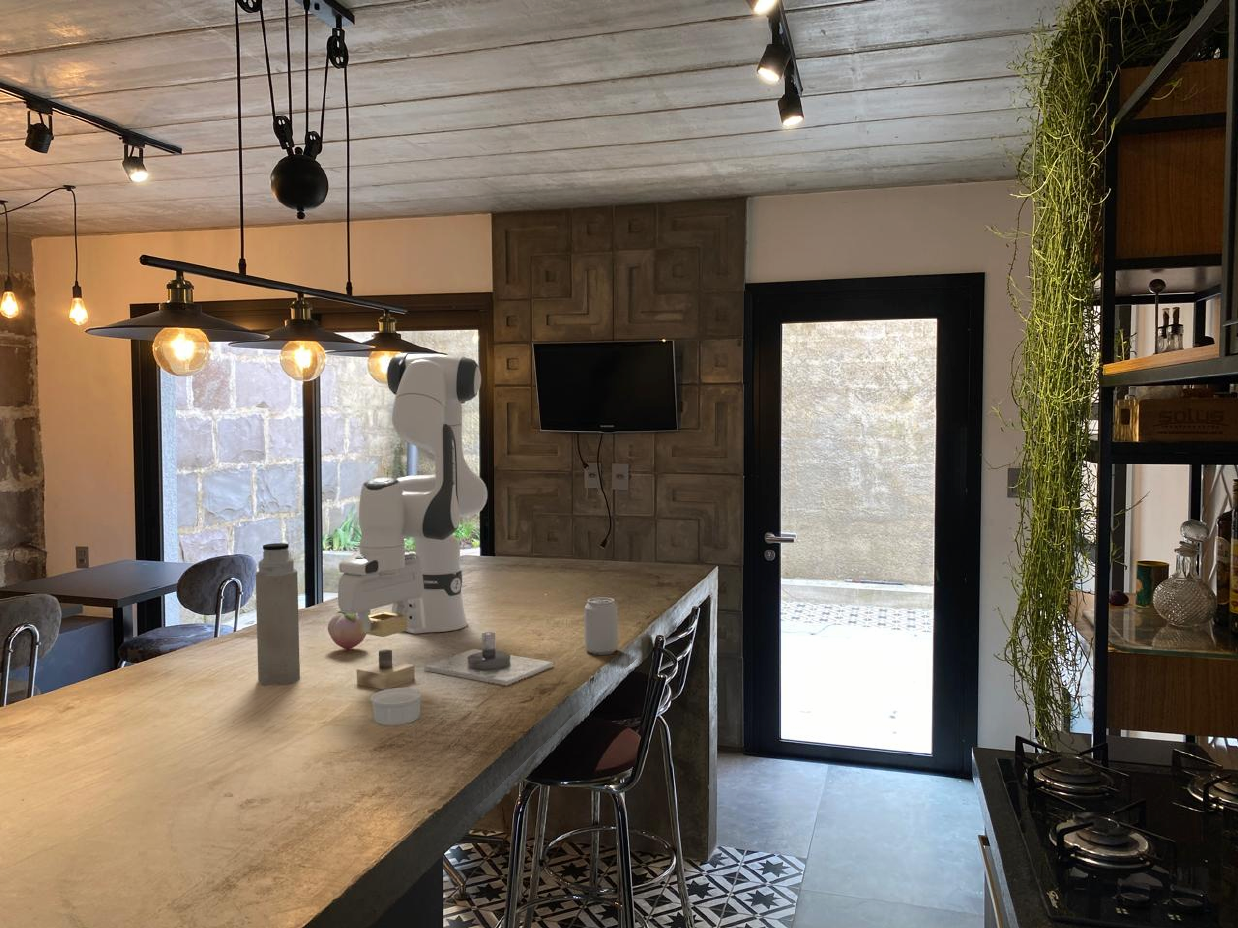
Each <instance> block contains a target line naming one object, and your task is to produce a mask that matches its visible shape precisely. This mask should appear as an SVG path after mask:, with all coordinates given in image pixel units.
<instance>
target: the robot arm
mask: <svg viewBox="0 0 1238 928" xmlns="http://www.w3.org/2000/svg"><path fill="white" fill-rule="evenodd" d="M388 362H389V363H388V366H387V369H386V382H387V386H388V389H389V390H390V391H391V393H392V394H393V395H395V397H394V401H393V402H394V403H393V406H392V407H393V408H392V414H391V423H392V426H393V428H394V430H395V432H396V433H397V435H399V436H400V438H401V439H403V440H404V441H406V442H407V444H408V443H409V444H410V445H412V446H414V447H415V448H416V450H417V452H418V454H419V456H420V457H421V458H423V459H425V460H426V461H428V462H430V463H432V464H435V469H434V470H435V471H434V473H435V474H421V475H420V474H418V475H417V474H413V475H412V474H411V475H407V476H401V477H398V478H394V477H389V476H387V477H384V476H383V477H377V478H372V479H367V481H365V482H363V484H362V486H361V490H360V497H359V507H358V525H359V528H360V532H361V533H360V540H359V550H357V551H356V552H355V553H353V554H352V555H350V556H348V557H346V558H345V559H343V560H341V562H340V563H339V565H338V570H339V573H342V574H341V576H340V577H339V580H338V587H337V605H338V608H339V611H342V612H344V613H350V614H355V613H358V616H359V618H360V620H361V621H362V622H363V631H365V632H370V631H373V630H374V622H371V621H370V619H369V615H371V610H374V609H378V608H381V607H385V606H388V605H389V606H390V605H391V612H390V613H395V614H401V615H407V630H406V631H405V632H407V633H410V634H423V633H424V634H426V633H441V632H444V633H445V632H451V631H456V630H460V629H463V628H465V627H467V626H468V621H467V617H466V613H465V607H464V602H463V595H462V586H463V571H462V570H461V544H460V541H459V539H458V538H457V537H456V536H455V535H454V533H455V532H456V531H457V530H458V528H459V525H460V518H461V517H466V516H469V515H473V514H478V513H479V512H481V511H483V509H484V507H485V505H486V504H487V500H488V489H487V486H486V483H485V482H484V481H483V479H482V478H481V477H480V476H479V475H478V474H475V472H474V471H473V470H472V469H471V468H470V466H469V465H468V463H467V462H466V460H465V456H464V452H463V440H462V439H463V437H462V436H463V433H462V432H463V406H462V404H466V402H469V401H472V400H473V399H474V398H476V396H477V394H478V392H479V391H480V388H481V383H482V375H481V370H480V366H479V364H478V363H477V362H476V360H474V359H473V358H468V357H466V356H461V357H459V356H454V355H451V354H450V355H449V354H442V353H434V354H433V353H413V354H412V353H411V354H410V353H409V352H405V353H398V354H395V355H394V356H393V357H392V358H391V359H390V360H389V361H388ZM405 538H412V540H413V543H414V553H413V552H411V553H408V554H406V551H405V548H406V543H405V542H406V541H405Z"/></svg>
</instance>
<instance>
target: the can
mask: <svg viewBox="0 0 1238 928" xmlns="http://www.w3.org/2000/svg"><path fill="white" fill-rule="evenodd" d="M618 609H619V608H618V605H617V604H616V603H615V599H614V598H611V597H602V596H601V597H592V598H588V599H587V603H586V604H585V606H584V649H585V650H586V651H587V652H588V651H589V652H590V653H589V652H588V653H589V654H591V653H593V654H592V655H597V654H598V655H599V656H602V655H610V654H614V653H615V651H616V650H617V649H618V648H619V647H618V646H619V641H618V640H619V638H618V637H619V633H618V632H619V629H618V628H619V626H618V619H619V617H618V614H619V613H618Z"/></svg>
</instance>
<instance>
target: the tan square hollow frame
mask: <svg viewBox="0 0 1238 928" xmlns="http://www.w3.org/2000/svg"><path fill="white" fill-rule="evenodd" d="M368 616H369V619H370V621H371V622H374V630H373V631H370V632H365V631H363V622H362V621H361V620H360V618H359V627H360V633H364V634H366V635H371V636H375V637H379V638H385V637H389V636H391V635H395V634H399V633H402V632H406V630H407V615H401V614H395V613H391V612H388V611H381V612H377V613H374V614H370V615H368Z"/></svg>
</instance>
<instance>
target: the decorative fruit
mask: <svg viewBox="0 0 1238 928" xmlns="http://www.w3.org/2000/svg"><path fill="white" fill-rule="evenodd" d="M327 624H328V625H327V631H328V635H329V636H330V638H331V639H332V641H333V643H334V644H336V645H337V646H339V647H340V648H342V649H344V650H347V651H350V650H352V649H353V648H355V647H357V646H358V645H360V644H361V643H362V642H363V641H364V639H365V638H366V636H367V634H364V633H360V627H359V616H358V613H355V614H350V613H344V612H342V611H341V610H339V611H337V613H336V614H335V615H334V616H332V617H331V618H330V620H329V621H328V623H327Z"/></svg>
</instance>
